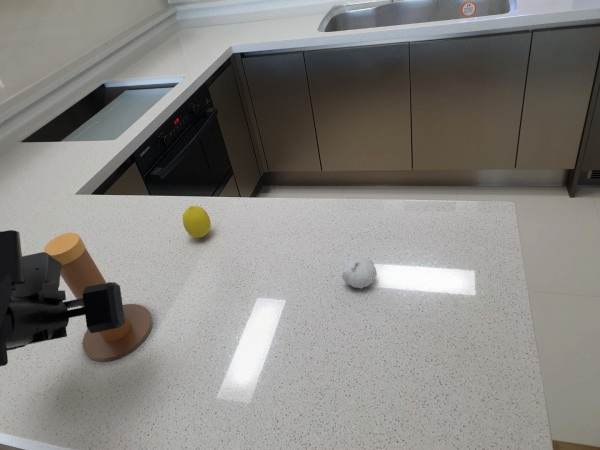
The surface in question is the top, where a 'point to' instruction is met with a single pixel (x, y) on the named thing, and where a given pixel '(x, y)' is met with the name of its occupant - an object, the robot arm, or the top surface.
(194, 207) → the lemon
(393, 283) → the top surface
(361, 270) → the garlic
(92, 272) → the orange cylinder
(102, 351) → the round brown plate
